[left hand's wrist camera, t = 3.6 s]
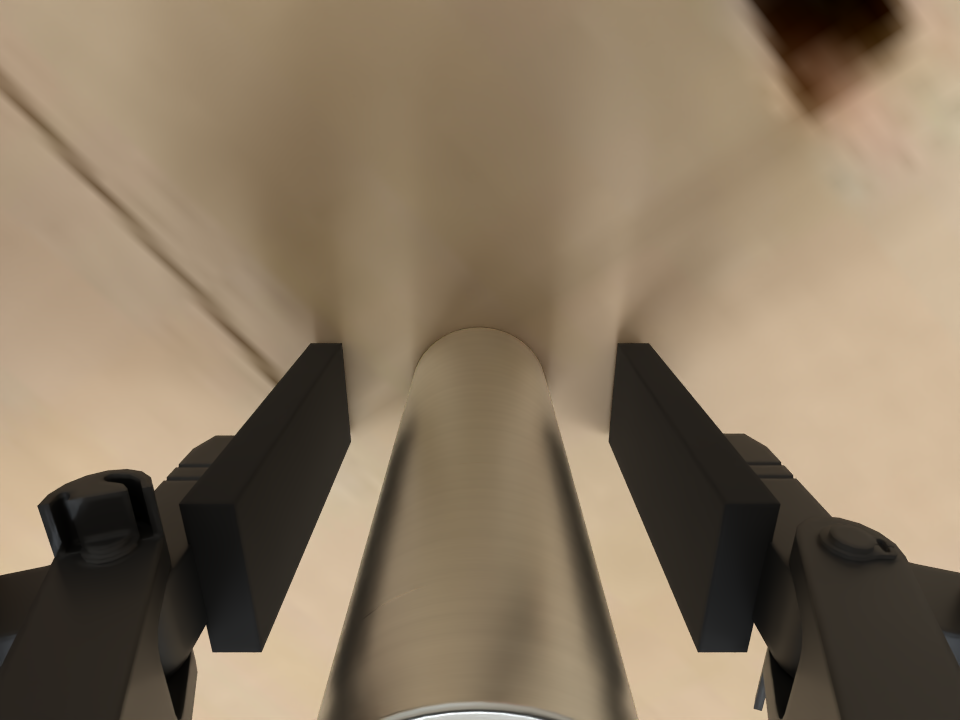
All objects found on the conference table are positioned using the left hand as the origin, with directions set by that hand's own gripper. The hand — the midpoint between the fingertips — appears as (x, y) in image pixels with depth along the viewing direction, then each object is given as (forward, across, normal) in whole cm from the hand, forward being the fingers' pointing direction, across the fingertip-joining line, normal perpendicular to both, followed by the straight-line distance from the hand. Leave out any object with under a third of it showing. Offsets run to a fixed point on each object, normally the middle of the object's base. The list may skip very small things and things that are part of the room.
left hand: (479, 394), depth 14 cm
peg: (0, 0, 0) cm, 0 cm away
